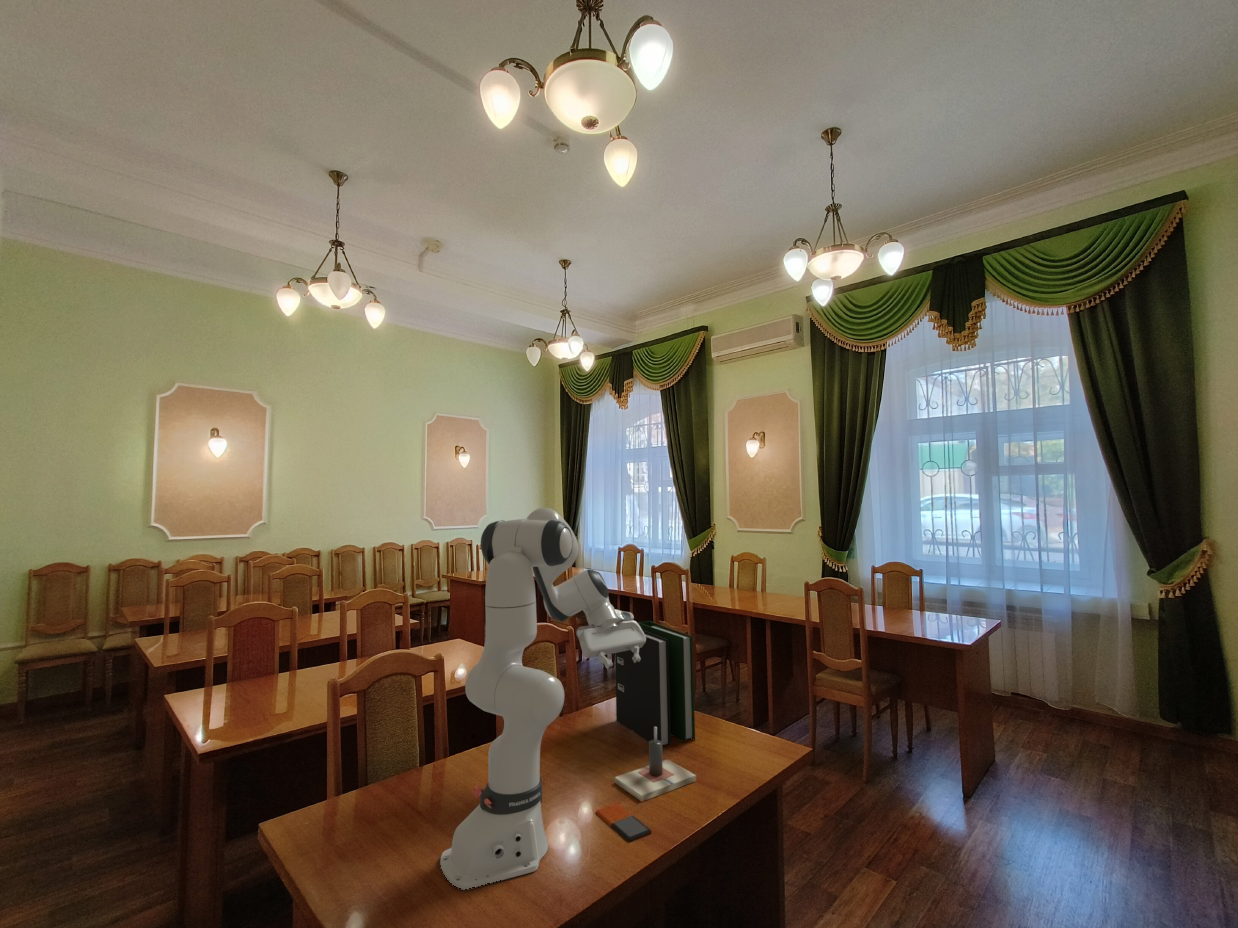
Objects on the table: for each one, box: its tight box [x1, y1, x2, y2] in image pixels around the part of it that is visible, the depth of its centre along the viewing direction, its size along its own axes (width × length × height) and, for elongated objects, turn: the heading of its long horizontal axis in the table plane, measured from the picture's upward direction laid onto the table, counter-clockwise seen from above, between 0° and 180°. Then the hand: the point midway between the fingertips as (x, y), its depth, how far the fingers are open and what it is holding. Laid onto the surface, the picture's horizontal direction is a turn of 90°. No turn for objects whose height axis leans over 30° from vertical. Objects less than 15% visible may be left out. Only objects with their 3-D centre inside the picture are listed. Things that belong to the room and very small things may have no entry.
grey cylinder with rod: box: [648, 727, 663, 776], centre depth 157 cm, size 4×4×12 cm
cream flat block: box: [614, 758, 697, 802], centre depth 155 cm, size 18×12×2 cm, turn 124°
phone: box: [595, 803, 653, 843], centre depth 136 cm, size 6×1×15 cm
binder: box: [614, 620, 696, 748], centre depth 191 cm, size 27×15×32 cm, turn 28°
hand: (624, 664), depth 163 cm, fingers open, 8 cm apart
